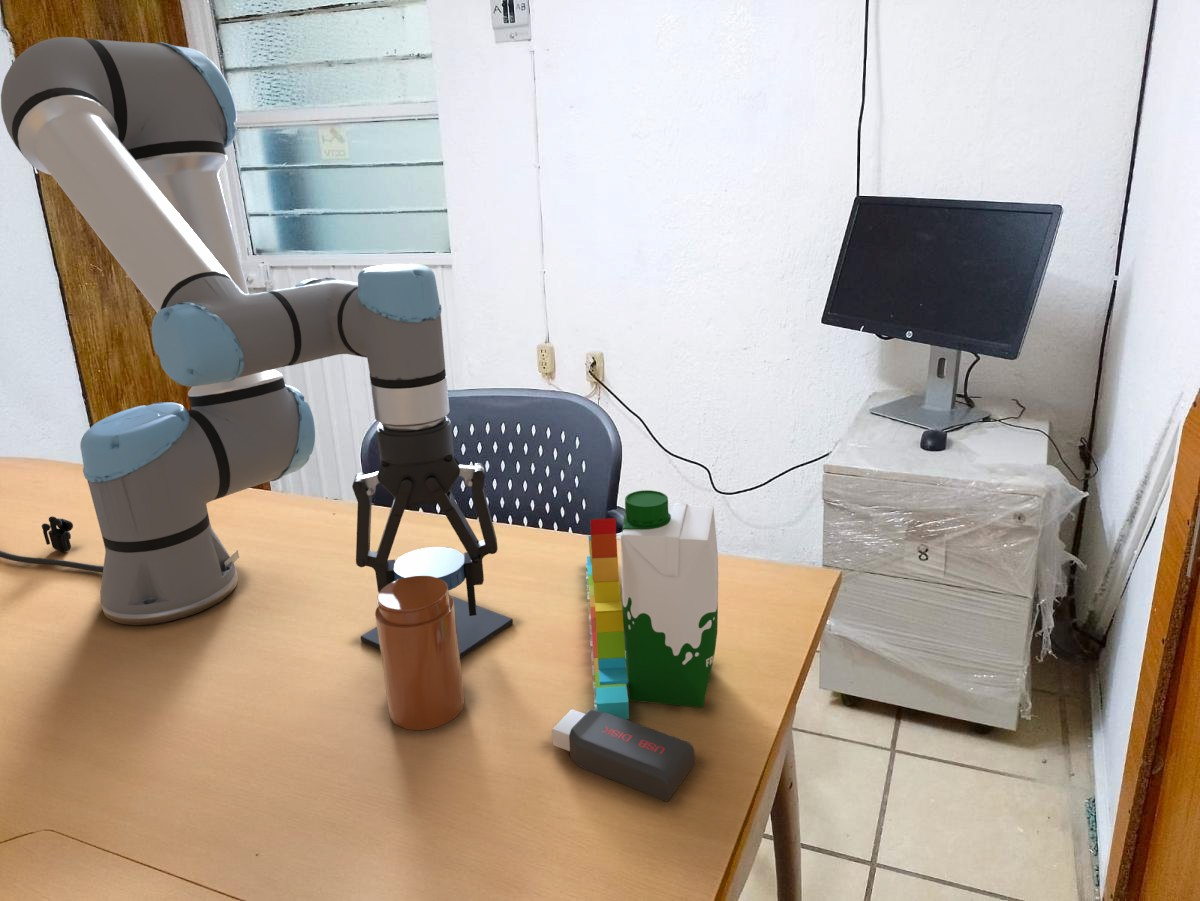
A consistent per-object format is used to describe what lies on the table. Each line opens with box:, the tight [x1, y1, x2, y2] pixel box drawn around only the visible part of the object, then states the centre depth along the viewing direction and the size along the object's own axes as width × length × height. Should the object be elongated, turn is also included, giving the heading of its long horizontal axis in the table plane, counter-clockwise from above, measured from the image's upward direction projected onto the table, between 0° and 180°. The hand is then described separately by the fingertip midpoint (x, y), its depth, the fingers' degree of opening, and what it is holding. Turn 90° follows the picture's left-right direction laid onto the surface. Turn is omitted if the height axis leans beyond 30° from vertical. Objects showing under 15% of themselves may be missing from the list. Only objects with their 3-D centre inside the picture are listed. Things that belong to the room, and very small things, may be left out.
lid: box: [393, 546, 466, 592], centre depth 91 cm, size 8×8×2 cm
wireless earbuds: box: [41, 516, 74, 553], centre depth 117 cm, size 7×2×5 cm, turn 59°
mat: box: [360, 594, 514, 660], centre depth 93 cm, size 12×12×1 cm
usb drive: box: [551, 708, 696, 802], centre depth 72 cm, size 5×12×3 cm, turn 59°
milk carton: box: [620, 489, 719, 708], centre depth 79 cm, size 9×9×20 cm
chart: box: [585, 517, 630, 720], centre depth 89 cm, size 30×3×15 cm, turn 3°
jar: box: [374, 576, 465, 731], centre depth 79 cm, size 7×7×13 cm
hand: (435, 613), depth 93 cm, fingers closed on lid, 8 cm apart
